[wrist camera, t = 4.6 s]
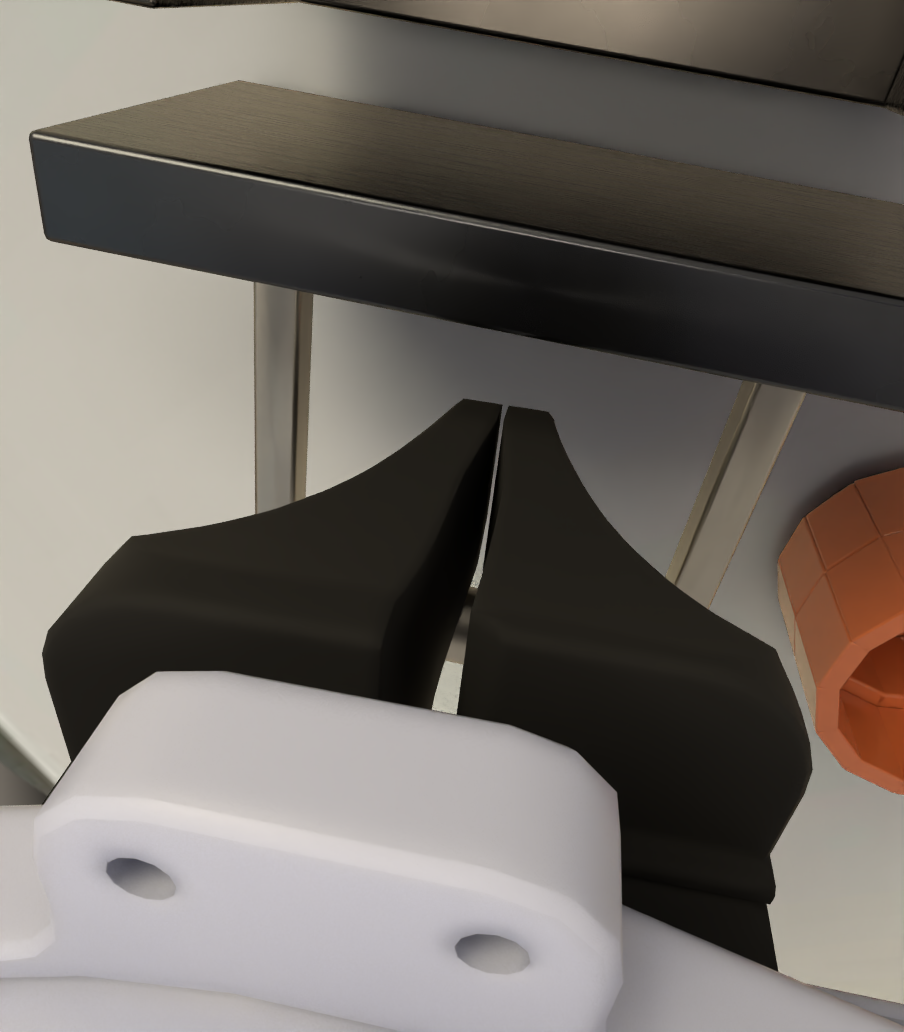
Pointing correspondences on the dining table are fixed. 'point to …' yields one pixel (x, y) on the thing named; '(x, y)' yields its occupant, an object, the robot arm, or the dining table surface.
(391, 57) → the dining table surface
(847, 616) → the orange cup
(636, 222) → the drawer
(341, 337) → the dining table surface
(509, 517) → the robot arm
